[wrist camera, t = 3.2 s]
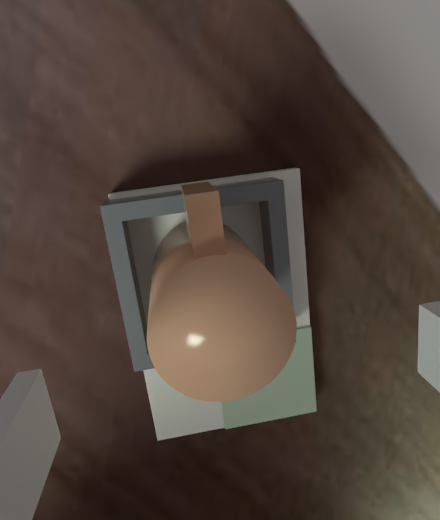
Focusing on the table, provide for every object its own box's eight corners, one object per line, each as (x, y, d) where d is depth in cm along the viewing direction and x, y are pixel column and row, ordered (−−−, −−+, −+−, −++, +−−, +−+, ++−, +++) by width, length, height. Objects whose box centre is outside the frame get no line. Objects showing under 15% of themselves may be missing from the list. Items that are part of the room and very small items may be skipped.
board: (157, 431, 31) (157, 442, 30) (110, 193, 26) (107, 195, 25) (311, 401, 32) (316, 411, 31) (294, 167, 27) (300, 168, 26)
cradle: (136, 352, 28) (134, 371, 26) (105, 200, 25) (99, 206, 23) (285, 326, 29) (296, 342, 26) (272, 177, 26) (283, 180, 24)
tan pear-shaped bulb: (254, 305, 28) (301, 387, 19) (161, 320, 28) (160, 414, 18) (240, 170, 26) (286, 185, 16) (137, 184, 25) (120, 208, 15)
